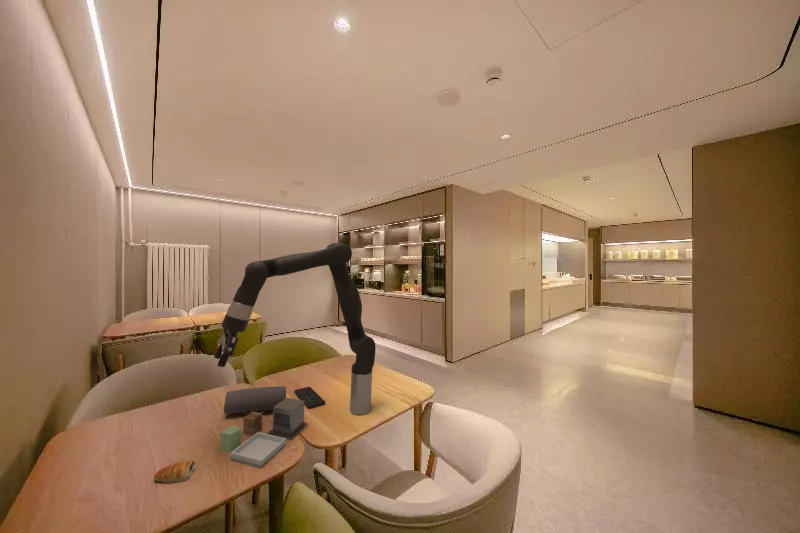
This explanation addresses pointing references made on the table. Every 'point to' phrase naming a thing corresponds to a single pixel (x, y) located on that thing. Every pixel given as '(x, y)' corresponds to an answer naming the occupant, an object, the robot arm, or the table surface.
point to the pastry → (176, 471)
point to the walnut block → (252, 423)
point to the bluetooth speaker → (254, 399)
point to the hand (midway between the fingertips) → (219, 362)
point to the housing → (288, 418)
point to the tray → (258, 449)
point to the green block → (230, 438)
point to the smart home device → (309, 397)
